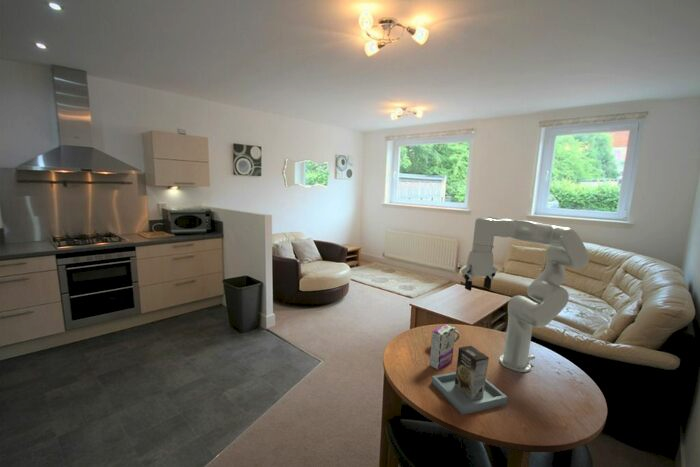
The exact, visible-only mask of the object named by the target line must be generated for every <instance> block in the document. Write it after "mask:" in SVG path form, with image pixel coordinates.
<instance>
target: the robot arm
mask: <svg viewBox="0 0 700 467" xmlns="http://www.w3.org/2000/svg"><path fill="white" fill-rule="evenodd" d="M495 237H500V238H511V239H515V240H519V241H522V242H528V243H534V244H535V243H536V244H542V245H548V247H547V248H546V250H545V251H546V252H545V257H546V258H545V259H546V261H545V267H544V269H543V271H541V273H540V274H539V275H538V276H537V277H536V278H535V279H534V280H533V281H532V282H531V283H530V284H529V286H528V287H527V289H526V294H527V295H528V297H530V298H528V297H526V296H523V295H520V294H518V295H514V296H512V297H510V299H509V300H508V303H507V317H508V320H507V321H508V322H507V327H506V335H505V336H506V337H505V343H504V351H503V354H502V355H500V356H499V359H498V361H499V363H500V364H501V365H503V367H504V368H506V369H507V370H511V371H513V372H517V373H527V372H529V371H531V367H532V366H531V364H530V361H533V360H535V359H536V357H535V355H533V354H530V347H531V340H532V334H533V327H535V328H537V329H538V328H540V329H541V328H545V327H546V326H547V325H549V324H550V323H551V322H552V321H553V320H554V319H555V318H556V317H557V316H558V315H559V314H560V313H561V312H562V311H563V310H564V308H565V307H566V306H567V305H568V302H569V299H570V296H569V292H568V291H567V289H565V288H564V287H562V286H561V285H562V284H563V282H564V281H565V280H566V279H565V278H566V271H565V267H569V268H572V269H576V270H581V269H584V268H585V267H586V266H588V264H589V262H590V254H589V252H588V250H587V248H586V246H585V245H584V242H583V241H582V238H581V237H580V235H579V234H578V233H577V232H576V230H574V229H573V228H571V227H566V226H559V225H554V224H548V223H541V222H535V221H531V220H530V221H529V220H519V219H509V218H503V217H498V216H488V217H477V218H476V219H475V222H474V232H473V237H472V238H473V241H472V248H471V250H470V251H469V254H468V257H467V260H466V266H465V267H463V268H462V269H461V274H462V277H463V278H464V280H465V283H464V289H465V290H467V291H469V292H470V291H472V287H473V281H472V280H473V279H474V277H485V278H484V281H483V288H485V289H487V290H491V288H492V287H491V286H492V281H493V280H494V277H495V276H496V274H497V271H498V268H497V267H495V266H494V252H493V249H494V248H495V246H494V240H495ZM529 354H530V355H529Z"/></svg>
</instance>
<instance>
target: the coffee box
mask: <svg viewBox="0 0 700 467" xmlns="http://www.w3.org/2000/svg"><path fill="white" fill-rule="evenodd" d="M489 359H490V357H488V356H487V355H486V354H485V353H483V352H481V351H480V350H478V349H477V348H476V347H474V346H472V345H467V346H466V345H465V346H461V347H458V353H457V360H456V371H455V372H456V378H455V386H456V387H457V388H458V389H459V390H460V391H461V392H462V393H464V394H465V395H466V396H467V397H468V398H469V399H470V400H473V399H477V398H481V397H483V394H484V387H485V380H487V372H488V365H489Z"/></svg>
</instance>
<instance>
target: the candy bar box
mask: <svg viewBox="0 0 700 467" xmlns="http://www.w3.org/2000/svg"><path fill="white" fill-rule="evenodd" d="M455 330H456V327H455V326H451V325H449V324H447V323H445V324H444V325H441V326H439V327H437V328H435V329H433V330H432V331H431V343H430V344H431V345H430V354H429V355H430V356H429V366H430V367H431V368H433V369H435V370H437V371H439V370H441V369H443V368H444V367H446V366H447V365H449V364H451V363H452V362H453V358H454V357H453V356H454V345H455V343H454V339H455V335H456V333H455Z"/></svg>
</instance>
